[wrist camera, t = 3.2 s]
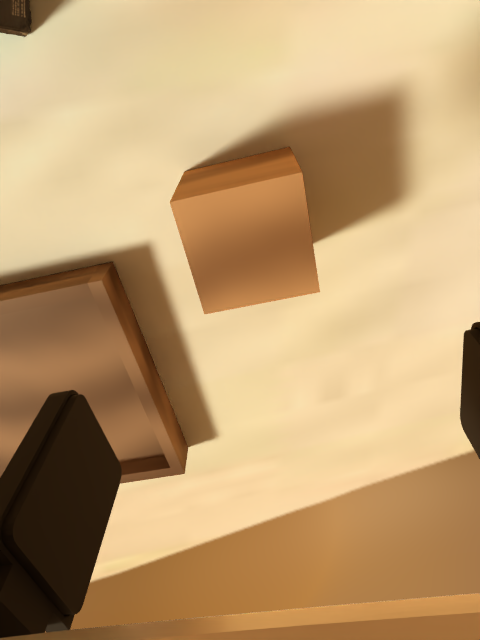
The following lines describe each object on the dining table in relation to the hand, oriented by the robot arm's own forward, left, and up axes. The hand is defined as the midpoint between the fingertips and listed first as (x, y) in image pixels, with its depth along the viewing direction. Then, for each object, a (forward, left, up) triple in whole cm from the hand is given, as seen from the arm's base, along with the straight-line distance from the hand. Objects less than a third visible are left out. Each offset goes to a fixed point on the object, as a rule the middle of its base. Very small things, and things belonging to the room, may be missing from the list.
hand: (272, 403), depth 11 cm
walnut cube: (0, 0, -15) cm, 15 cm away
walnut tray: (+9, -17, -15) cm, 25 cm away
